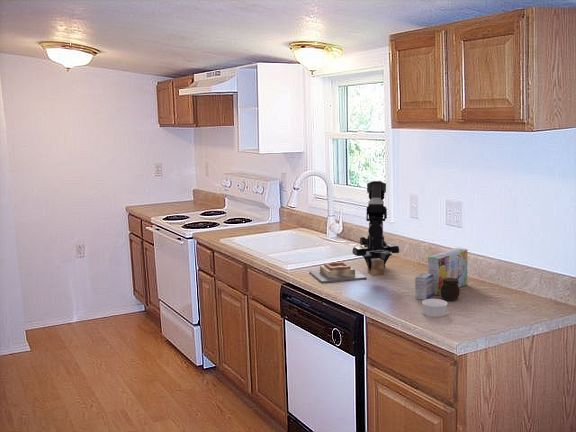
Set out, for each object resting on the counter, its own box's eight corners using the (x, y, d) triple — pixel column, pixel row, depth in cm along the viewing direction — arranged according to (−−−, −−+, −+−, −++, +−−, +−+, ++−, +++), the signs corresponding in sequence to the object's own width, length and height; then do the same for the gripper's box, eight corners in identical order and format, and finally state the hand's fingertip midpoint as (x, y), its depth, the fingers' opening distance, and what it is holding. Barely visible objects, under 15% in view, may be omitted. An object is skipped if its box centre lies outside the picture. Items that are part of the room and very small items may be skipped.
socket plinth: (345, 269, 292) (345, 260, 291) (355, 276, 280) (355, 266, 279) (320, 272, 289) (319, 262, 288) (328, 278, 277) (328, 269, 276)
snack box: (455, 282, 270) (456, 247, 268) (467, 285, 266) (468, 249, 264) (426, 293, 256) (427, 256, 253) (439, 296, 252) (440, 258, 249)
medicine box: (425, 300, 246) (426, 278, 245) (414, 298, 249) (415, 276, 247) (433, 295, 253) (433, 273, 251) (422, 293, 255) (422, 272, 254)
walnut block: (379, 272, 273) (379, 258, 272) (383, 274, 269) (383, 260, 268) (367, 273, 272) (367, 259, 271) (372, 275, 267) (372, 261, 266)
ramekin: (450, 317, 226) (451, 305, 225) (425, 318, 225) (425, 306, 225) (442, 309, 235) (442, 298, 234) (418, 310, 234) (418, 299, 233)
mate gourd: (437, 297, 250) (438, 271, 249) (456, 296, 251) (457, 271, 249) (443, 302, 243) (444, 276, 242) (463, 301, 244) (464, 275, 242)
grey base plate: (351, 269, 296) (351, 267, 295) (366, 279, 278) (366, 277, 278) (309, 272, 291) (309, 271, 290) (321, 283, 273) (321, 281, 273)
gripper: (388, 228, 278) (388, 264, 280) (347, 231, 273) (347, 267, 275) (399, 233, 267) (399, 270, 269) (357, 236, 262) (357, 273, 265)
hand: (375, 270), depth 270 cm, fingers closed on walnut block, 5 cm apart
